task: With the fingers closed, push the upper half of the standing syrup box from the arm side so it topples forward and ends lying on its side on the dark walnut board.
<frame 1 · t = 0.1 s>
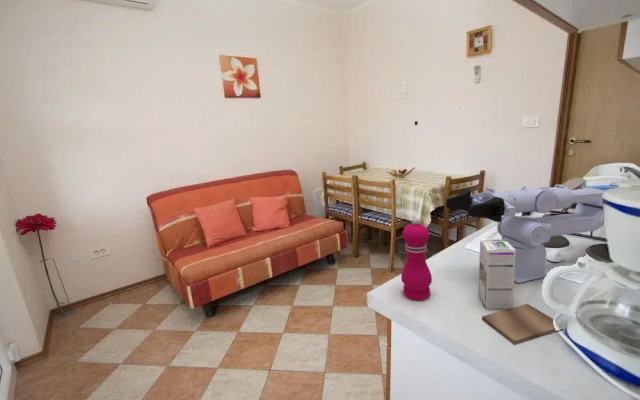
hand: (457, 207, 72), 22 cm above the counter, tool horizontal, fingers open, 7 cm apart
pepper mill: (416, 294, 77), on the counter
walnut board: (521, 324, 62), on the counter
syrup box: (494, 303, 70), on the counter
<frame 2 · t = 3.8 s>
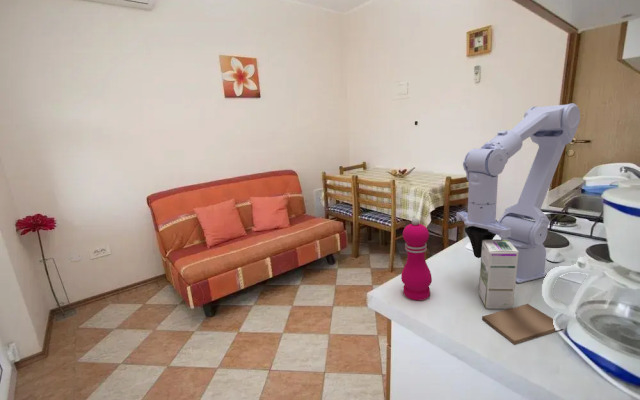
hand: (479, 256, 73), 9 cm above the counter, tool pointing down, fingers closed
syrup box: (494, 302, 70), on the counter, touching gripper
everything else where it was.
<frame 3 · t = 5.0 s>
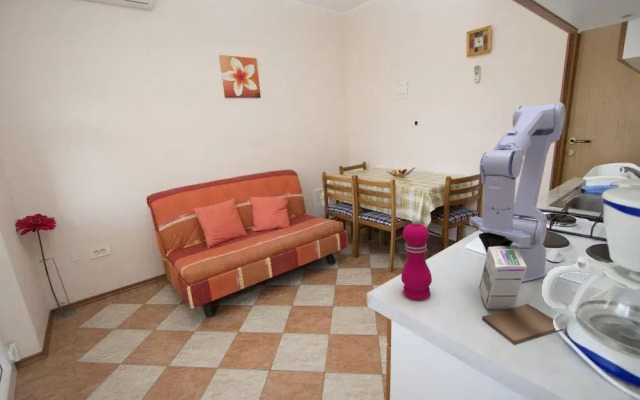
hand: (495, 264, 68), 9 cm above the counter, tool pointing down, fingers closed
syrup box: (494, 299, 70), point 1 cm above the counter
everything else where it was.
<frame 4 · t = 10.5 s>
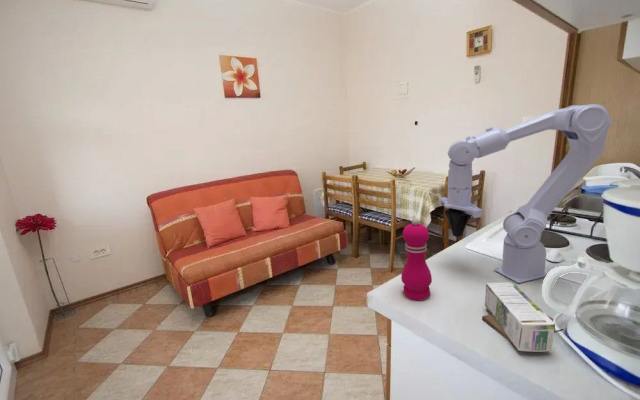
hand: (457, 235, 84), 10 cm above the counter, tool pointing down, fingers closed
syrup box: (497, 293, 67), point 4 cm above the counter, touching walnut board
everything else where it was.
at the end: syrup box tilted 90°; syrup box touching walnut board; syrup box inside the target area (3.0 cm from its centre), point 3.6 cm above the counter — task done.
